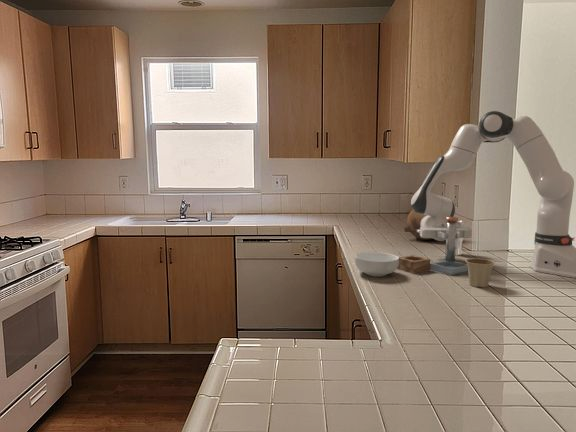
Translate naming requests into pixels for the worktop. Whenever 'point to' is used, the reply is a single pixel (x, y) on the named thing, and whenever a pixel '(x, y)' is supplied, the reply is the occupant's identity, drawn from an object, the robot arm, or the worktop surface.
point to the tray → (449, 267)
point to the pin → (451, 238)
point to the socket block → (414, 264)
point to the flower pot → (479, 271)
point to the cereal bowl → (376, 263)
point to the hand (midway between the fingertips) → (452, 236)
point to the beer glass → (459, 243)
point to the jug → (415, 224)
